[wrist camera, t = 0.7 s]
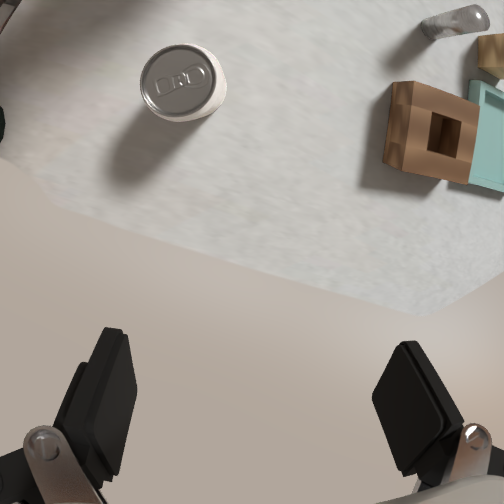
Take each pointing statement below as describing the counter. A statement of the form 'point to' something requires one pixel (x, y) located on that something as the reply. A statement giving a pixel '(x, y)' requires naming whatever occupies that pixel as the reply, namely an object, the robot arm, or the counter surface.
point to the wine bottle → (2, 123)
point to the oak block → (491, 54)
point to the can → (183, 83)
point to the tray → (488, 136)
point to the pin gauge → (456, 22)
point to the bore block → (431, 132)
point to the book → (7, 11)
